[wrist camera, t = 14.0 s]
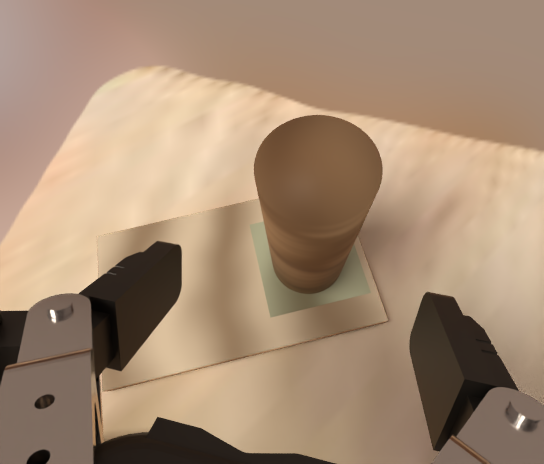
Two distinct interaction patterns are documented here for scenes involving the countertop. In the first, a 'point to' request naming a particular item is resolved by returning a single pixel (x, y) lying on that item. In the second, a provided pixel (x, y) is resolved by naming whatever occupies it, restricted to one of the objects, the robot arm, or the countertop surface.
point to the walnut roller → (315, 196)
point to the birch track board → (234, 295)
